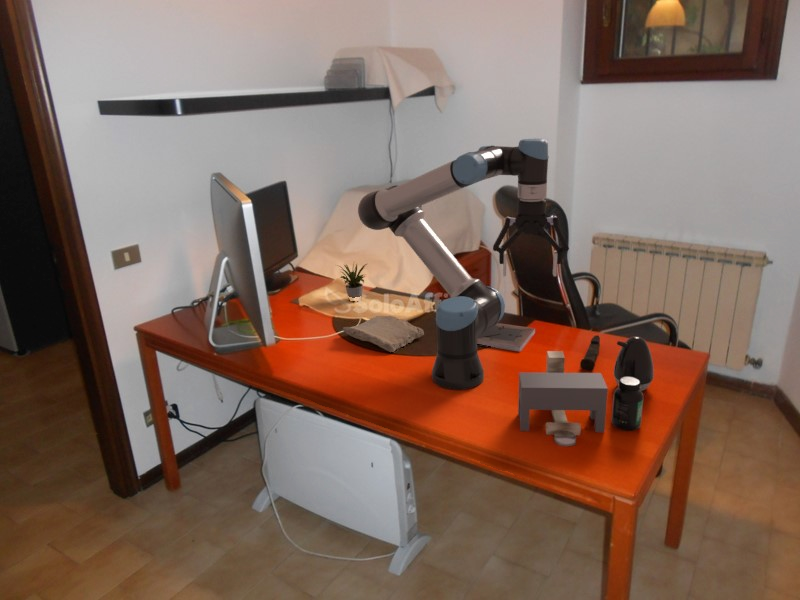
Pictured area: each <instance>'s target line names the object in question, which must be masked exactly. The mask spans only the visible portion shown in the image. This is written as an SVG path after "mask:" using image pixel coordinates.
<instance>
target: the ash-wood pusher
mask: <svg viewBox="0 0 800 600" xmlns="http://www.w3.org/2000/svg"><path fill="white" fill-rule="evenodd" d="M565 363H566V357H565V355H564V351H563V350H561V351H560V350H559V351H558V350H547V351H546V368H545V369H546V372H545V373H565ZM565 411H566V410H550V412H551V417H552V421H553V422H551V421H549V422H548V421H547V422H545V435H549V436H550V435H551V436H553V435H555V433H556V432H558V431H570V432H572V433H574V434H575V435H576V436H581V428H582V426H581V423H580V422H568V419H567V415H566V412H565Z"/></svg>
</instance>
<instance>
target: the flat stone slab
mask: <svg viewBox="0 0 800 600" xmlns="http://www.w3.org/2000/svg"><path fill="white" fill-rule="evenodd" d="M342 331H343V332H344V333H345V334H346V335H348V336H350V337H352V338H355V339H357V340H360V341H363V342H369V343H372V344H374V345H376V346H378V347H379V348H381V349H383V350H385V351H387V352H388V353H389V352H390V353H391V352H394V351H395V350H396V349H398V348H400V347H403V346H405V345H406V344H408V343H410V344H411V343H412V342H413V341H414V340H415V339H419V338H421V337H423V336H425V332H424V329H423V328H421V327H419V326H414V325H413V324H411V323H410V322H408V320H405V319H402V318H398V317H396V316H394V315H393V316H392V315H377V316H375V317H371V318H370V319H368V320H366V321H364V322H362V323H359V324H358V325H354V326H344V327H343V328H342ZM408 345H409V344H408ZM405 347H406V346H405ZM394 353H395V352H394Z"/></svg>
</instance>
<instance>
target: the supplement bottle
mask: <svg viewBox="0 0 800 600" xmlns="http://www.w3.org/2000/svg"><path fill="white" fill-rule="evenodd" d="M617 385H618V386H617V387H616V388H615V389H614V391H613V399H612V408H611V409H612V410H611V424H612V425H613V426H614V427H615V428H617V429H618V430H622V431H627V432H630V431H631V432H632V431H637V430H638V429H639V428H640V427H641V424H642V416H643V408H644V407H643V406H644V393H643V391H640V380H638V379H636V378H634V377H621V378H620V380H619V384H617Z"/></svg>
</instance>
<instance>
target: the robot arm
mask: <svg viewBox="0 0 800 600" xmlns="http://www.w3.org/2000/svg"><path fill="white" fill-rule="evenodd" d="M548 164H549V143H548V141H547V140H546V139H544V138H524V139H521V140H519V142H518V146H501V145H499V146H497V145H496V146H495V145H485V146H484V145H483V146H481V147H479V148H478V150H477V151H468V152H466V153H463V154H461V155H459V156H457V158H456V159H455V160H452V161H449V162H447V163H445V164H443V165H441V166H438V167H436V168H433V169H431V170H430V171H427V172H426V173H425V172H424V173H423V174H421V175H419V176H416V177H414V178H412V179H410V180H408V181H406V182H404V183H401V184H399V185H392V186H390V187H387V188H383V189H380V190H379V189H378V190H375V191H371V192H368V193H367V194H366V195H364V196H363V197H362V198H361V199H360V202H359V204H358V207H357V214H358V217H359V220H360V221H361V223H362V225H364V226H365V227H367V228H368V229H370V230H374V231H380V230H384V229H385V230H386V229H390V231H391V233H393V235H394V236H395V237H399V238H400V237H402V239H404V240H405V242H406V243H407V244H408V245H409V247H410V248H411V249H412V250H413V252H414V253H415V254H416V256H417V257H418V259H420V260H421V262H422V263H423V264H424V265H425V267H426V268H427V269H428V270H429V272H430V273H431V275H432V276H433V277H434V278H435V279H436V280H437V281H438V283H439V284H440V285H441V286H442V288H443V289H444V291H446V293H447V294H448V295H449V298H446V299H443V300H442V301H440V303H439V304H438V305H437V307H436V312H435V313H436V315H435V322H436V323H435V325H436V327H435V328H436V348H437V349H436V352H437V353H436V356H435V359H434V362H433V363H434V364H433V366H432V369H431V380H432V382H433V383H434V384H435V385H437V386H439V387H441V388H444V389H446V390H447V389H448V390H455V391H456V390H457V391H459V390H468V389H472V388H475V387H477V386H479V385H481V384H482V383H483V381H484V379H485V378H484V376H485V373H484V372H485V371H484V368H483V365H482V361H481V359H480V357H479V353H478V346H479V345H477V338H478V336H479V335H481V334H482V333H484V332H485V331H486V330H488V329H489V328H491V327H493V326H494V325H495V324H497V323H499V322H500V321H501V320H502V319H503V316H504V314H505V308H506V306H505V305H506V303H505V300H504V297H503V296H502V293H501V292H500V291H498V290H497V289H496V288H494V287H492V286H488V285H487V286H486V285H485V284H484V283H483V281H481V280H480V278H473V277H472V276H471V275H470V274H469V273H468V271H467V270H466V268H465V267H464V266H463V265H462V264H461V263H460V261H459V260H458V259H457V258H456V257H455V256H454V254H453V253H452V252H451V251H450V250H449V248H448V247H447V246H446V244H445V243H444V242H443V241H442V239H441V238H440V237H439V236H438V234H437V233H436V232H435V231H434V230H433V229H432V227H431V226H430V225H429V224H428V222H427V221H426V220H425V211H424V210H423V205H426V204H428V203H430V202H433V201H435V200H437V199H440V198H443V197H445V196H447V195H450V194H451V193H452V194H453V193H454V192H457V191H459V190H461V189H464V188H467V187H469V186H472V185H474V184H477V183H479V182H482V181H484V180H487V179H491V178H495V177H498V176H514V177H515V176H517V198H518V200H517V201H516V203H517V205H516V206H517V210H516V211H517V214H516V217H510V216H509V215H506V216H505V219H504V220H505V221H504V225H502V226H503V227H502V229H500V232H499V234H498V236H497V237H496V239H495V242H494V244H493V246H492V251H493V252H498V253H499V255H498V257H499V260H498V261H499V265H503V266H502V267H503V270H502V271H503V273H502V274H503V277H507V249H508V248H509V247H510V246H511V245H512V244H513V243H514V241H515V240H516V239H518V237H519V236H521V234H522V233H523V234H524V235H529V234H534V235H537V234H539V233H540V234H541V235H542V236H543V237H544V239H546V241H548V243H550V245H551V246H552V247H553V248H554V250H553V262H552V276H553V277H557V276H558V275H557V274H558V273H557V271H558V268H557V267H558V265H561V263H562V253H563V252H568V251H569V249H570V247H569V245H568V243H567V241H566V239H565V237H564V235H563V233H562V231H561V229H560V225H559V220H558V216H556V215H552V216H549V217H547V200H546V198H547V190H548V187H547V186H548V169H549V168H548V167H549V166H548ZM514 223H515V224H516V225H517V228H515V230H514V231H513V232H512V233H511V234H510V235H509V237H508V238H507V239H506V240H505V241H504V243H502V242H503V240H504V238H505V236H506V234H507V233H508V230H509V228H510V227H511V226H513V224H514ZM547 223H549V224H550V226H553V228H554V229H553V230H554V231H555V233H556V235H557V237H558V239H559V241H560V243H561V245H559V244H558V243H557V241H556V240H555V239H554V237H552V235H550V234H551V233H549V232H548V230H547V229H546V228H545V226H547V225H546V224H547ZM501 244H502V245H501ZM500 245H501V246H500Z"/></svg>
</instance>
